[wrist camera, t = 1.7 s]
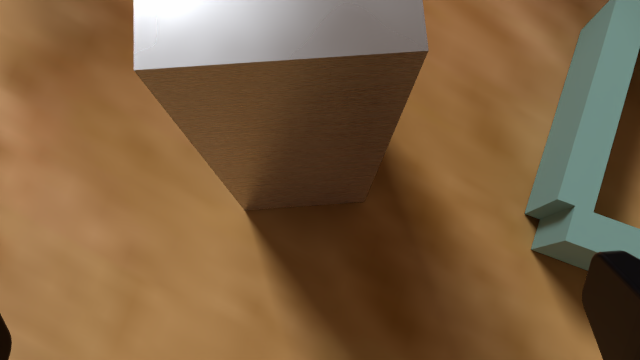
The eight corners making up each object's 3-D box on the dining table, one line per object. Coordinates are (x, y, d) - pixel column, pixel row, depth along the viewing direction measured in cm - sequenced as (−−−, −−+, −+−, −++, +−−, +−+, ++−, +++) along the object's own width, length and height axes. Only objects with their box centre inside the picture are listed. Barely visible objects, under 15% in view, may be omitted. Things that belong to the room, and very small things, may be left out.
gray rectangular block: (364, 202, 21) (428, 50, 9) (244, 210, 21) (133, 70, 9) (354, 89, 22) (398, -195, 10) (239, 97, 22) (134, -179, 10)
